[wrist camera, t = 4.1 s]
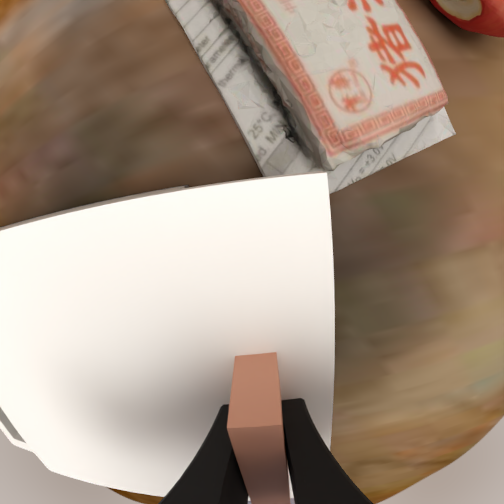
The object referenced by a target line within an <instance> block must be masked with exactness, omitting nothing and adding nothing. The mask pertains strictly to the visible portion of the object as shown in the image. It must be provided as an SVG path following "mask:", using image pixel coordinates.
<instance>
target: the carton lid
mask: <svg viewBox="0 0 504 504" xmlns="http://www.w3.org/2000/svg"><path fill="white" fill-rule="evenodd" d="M334 359H335V303H334V268H333V246H332V229H331V214H330V201H329V189H328V178H327V172H323V171H318V172H307V173H297V174H287V175H278V176H269V177H261V178H253V179H245V180H237V181H230V182H223V183H216V184H209V185H202V186H196V187H189V188H183V189H177V190H171V191H166V192H160V193H154V194H149V195H144V196H138V197H133V198H128V199H123V200H118V201H113V202H108V203H104V204H99V205H95V206H90V207H86V208H81V209H77V210H73V211H68V212H64V213H60V214H56V215H52V216H48V217H44V218H40V219H36V220H33V221H29V222H25V223H22V224H18V225H14V226H11V227H7V228H4V229H0V407H1V409H2V410H3V412H4V413H5V414H6V416H7V417H8V419H9V420H10V422H11V423H12V424H13V426H14V427H15V429H16V430H17V431H18V433H19V434H20V435H21V437H22V438H23V439H24V441H25V442H26V443H27V444H28V446H29V447H30V448H31V449H32V451H33V452H34V453H35V454H36V455H37V457H38V458H39V459H40V460H41V461H42V462H43V464H44V465H45V466H46V467H47V468H48V469H49V470H50V471H53V472H56V473H59V474H62V475H65V476H68V477H71V478H75V479H79V480H82V481H86V482H90V483H93V484H97V485H101V486H105V487H110V488H114V489H119V490H124V491H129V492H135V493H141V494H147V495H154V496H162V497H165V496H166V495H167V493H168V492H169V491H170V490H171V489H172V487H173V486H174V485H175V484H176V482H177V481H178V480H179V479H180V477H181V476H182V474H183V473H184V471H185V470H186V469H187V467H188V466H189V464H190V463H191V461H192V460H193V458H194V457H195V455H196V454H197V452H198V450H199V448H200V447H201V445H202V443H203V442H204V440H205V438H206V436H207V434H208V433H209V431H210V429H211V427H212V425H213V423H214V421H215V419H216V416H217V414H218V412H219V409H220V407H221V406H222V405H223V404H229V413H228V422H227V430H228V434H229V437H230V440H231V443H232V447H233V450H234V453H235V456H236V459H237V462H238V465H239V468H240V471H241V474H242V477H243V480H244V483H245V486H246V489H247V492H248V494H249V496H248V501H251V503H252V504H291V503H290V498H294V496H293V491H292V485H291V480H290V474H289V469H288V463H287V454H286V445H285V437H284V428H283V419H282V403H281V400H287V399H296V398H302V399H304V400H305V403H306V406H307V409H308V412H309V414H310V416H311V419H312V421H313V423H314V425H315V427H316V429H317V430H318V432H319V434H320V436H321V438H322V439H323V441H324V442H325V444H326V446H327V447H328V449H329V450H330V444H331V430H332V414H333V393H334Z"/></svg>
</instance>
